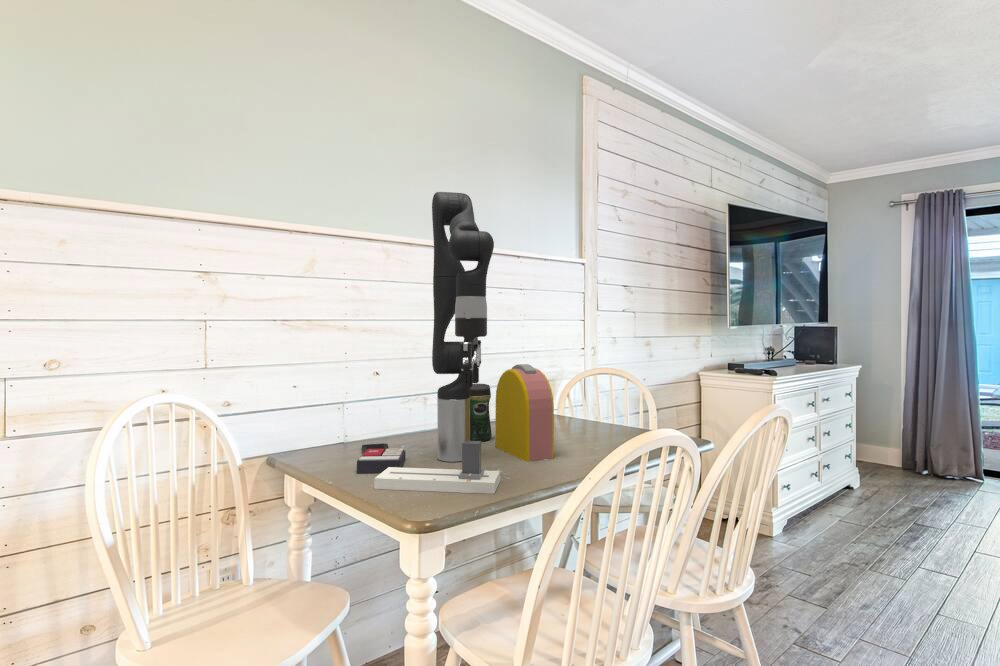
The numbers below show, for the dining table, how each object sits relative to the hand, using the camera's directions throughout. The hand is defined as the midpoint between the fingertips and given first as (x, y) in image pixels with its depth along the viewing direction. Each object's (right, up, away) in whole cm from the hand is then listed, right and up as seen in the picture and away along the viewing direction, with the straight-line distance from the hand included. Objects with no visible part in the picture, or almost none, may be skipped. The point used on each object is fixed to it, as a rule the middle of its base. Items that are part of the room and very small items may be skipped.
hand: (470, 385), depth 129 cm
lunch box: (+14, -24, +35) cm, 44 cm away
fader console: (-8, -24, +1) cm, 25 cm away
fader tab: (0, -21, 0) cm, 21 cm away
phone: (-30, -24, +35) cm, 52 cm away
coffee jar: (-1, -23, +53) cm, 58 cm away
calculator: (-25, -24, +19) cm, 39 cm away
